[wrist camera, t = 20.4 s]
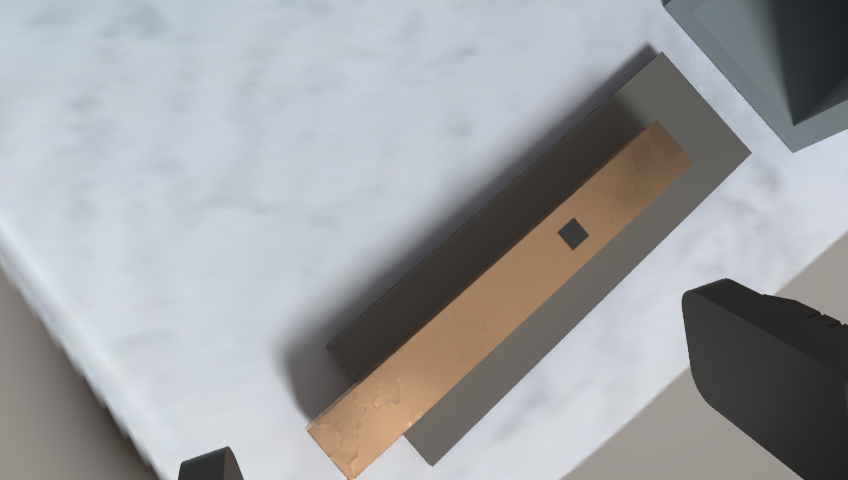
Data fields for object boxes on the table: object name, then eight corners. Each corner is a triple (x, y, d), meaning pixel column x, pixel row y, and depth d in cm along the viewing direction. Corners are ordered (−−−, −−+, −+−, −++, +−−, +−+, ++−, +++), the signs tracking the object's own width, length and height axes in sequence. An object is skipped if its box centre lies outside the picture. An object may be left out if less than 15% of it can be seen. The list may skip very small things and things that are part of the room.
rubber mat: (428, 464, 37) (432, 466, 36) (325, 345, 37) (327, 344, 36) (741, 157, 44) (751, 152, 43) (653, 58, 44) (662, 51, 43)
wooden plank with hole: (344, 474, 35) (350, 483, 32) (304, 427, 35) (307, 431, 32) (665, 177, 42) (694, 161, 39) (631, 137, 42) (657, 119, 39)
